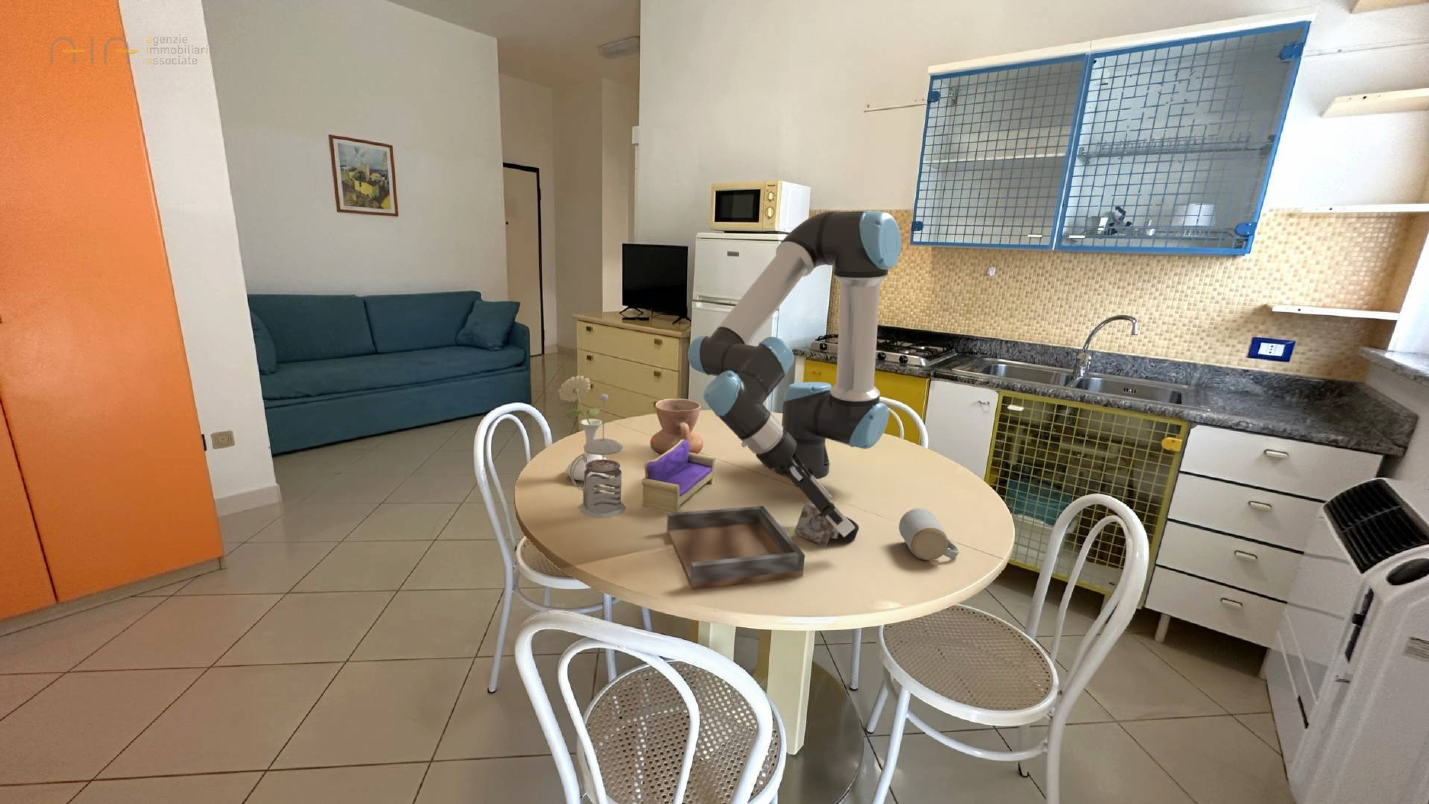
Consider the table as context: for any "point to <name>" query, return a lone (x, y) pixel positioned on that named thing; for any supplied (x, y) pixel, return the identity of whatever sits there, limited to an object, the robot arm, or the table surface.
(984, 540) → the table surface
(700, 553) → the square tray
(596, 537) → the table surface
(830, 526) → the caster wheel
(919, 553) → the ceramic mug
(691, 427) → the ceramic jug
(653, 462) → the toy sofa
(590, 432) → the flower in vase
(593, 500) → the french press
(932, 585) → the table surface
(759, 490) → the table surface
